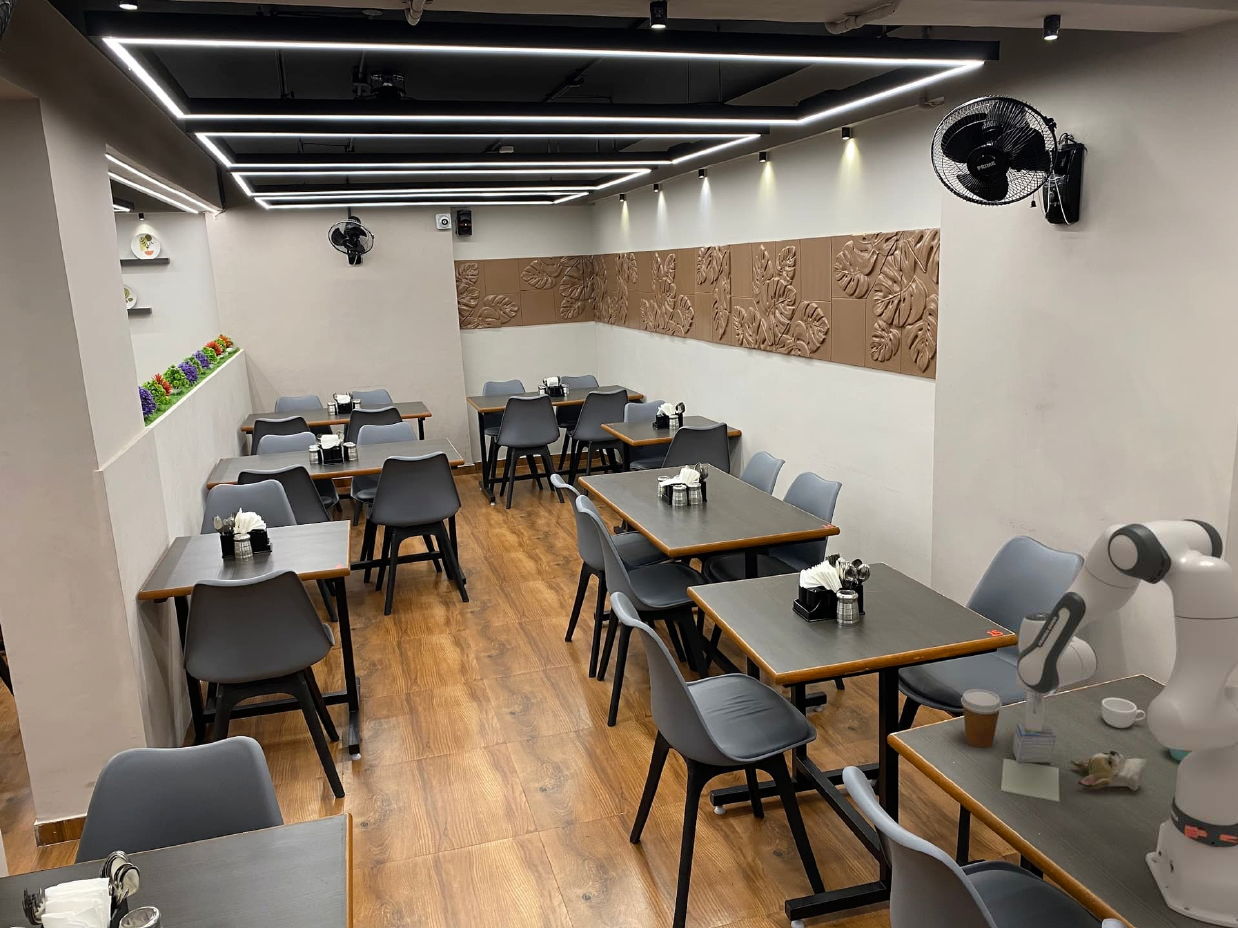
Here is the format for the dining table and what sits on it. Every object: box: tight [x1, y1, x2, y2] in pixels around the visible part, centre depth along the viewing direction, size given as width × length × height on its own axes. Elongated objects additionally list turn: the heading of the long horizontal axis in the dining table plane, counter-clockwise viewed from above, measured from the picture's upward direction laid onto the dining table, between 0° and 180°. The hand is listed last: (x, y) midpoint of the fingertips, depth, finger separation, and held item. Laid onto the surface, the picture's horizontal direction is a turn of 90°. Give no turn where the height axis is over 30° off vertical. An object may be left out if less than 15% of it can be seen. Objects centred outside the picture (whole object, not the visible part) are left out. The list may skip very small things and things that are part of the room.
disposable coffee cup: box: [960, 688, 1003, 748], centre depth 225 cm, size 10×10×12 cm
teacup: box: [1101, 697, 1147, 729], centre depth 230 cm, size 10×8×5 cm
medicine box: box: [1012, 723, 1057, 763], centre depth 215 cm, size 8×4×9 cm, turn 84°
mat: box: [1000, 758, 1060, 803], centre depth 209 cm, size 14×12×1 cm
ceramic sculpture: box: [1069, 750, 1148, 791], centre depth 205 cm, size 11×9×15 cm
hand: (1032, 728), depth 218 cm, fingers closed
